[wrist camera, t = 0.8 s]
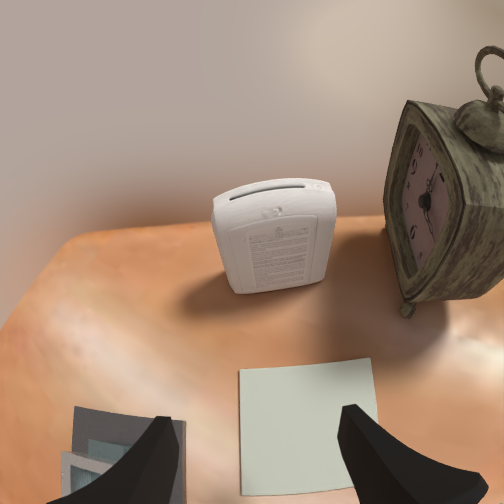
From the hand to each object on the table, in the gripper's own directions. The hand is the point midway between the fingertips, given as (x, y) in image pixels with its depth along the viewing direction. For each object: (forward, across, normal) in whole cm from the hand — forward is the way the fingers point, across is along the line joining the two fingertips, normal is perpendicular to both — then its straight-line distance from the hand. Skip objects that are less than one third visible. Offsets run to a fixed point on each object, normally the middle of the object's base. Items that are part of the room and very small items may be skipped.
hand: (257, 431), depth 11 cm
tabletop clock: (+19, -19, 0) cm, 27 cm away
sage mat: (+10, -5, +10) cm, 15 cm away
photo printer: (+22, -3, 0) cm, 22 cm away
